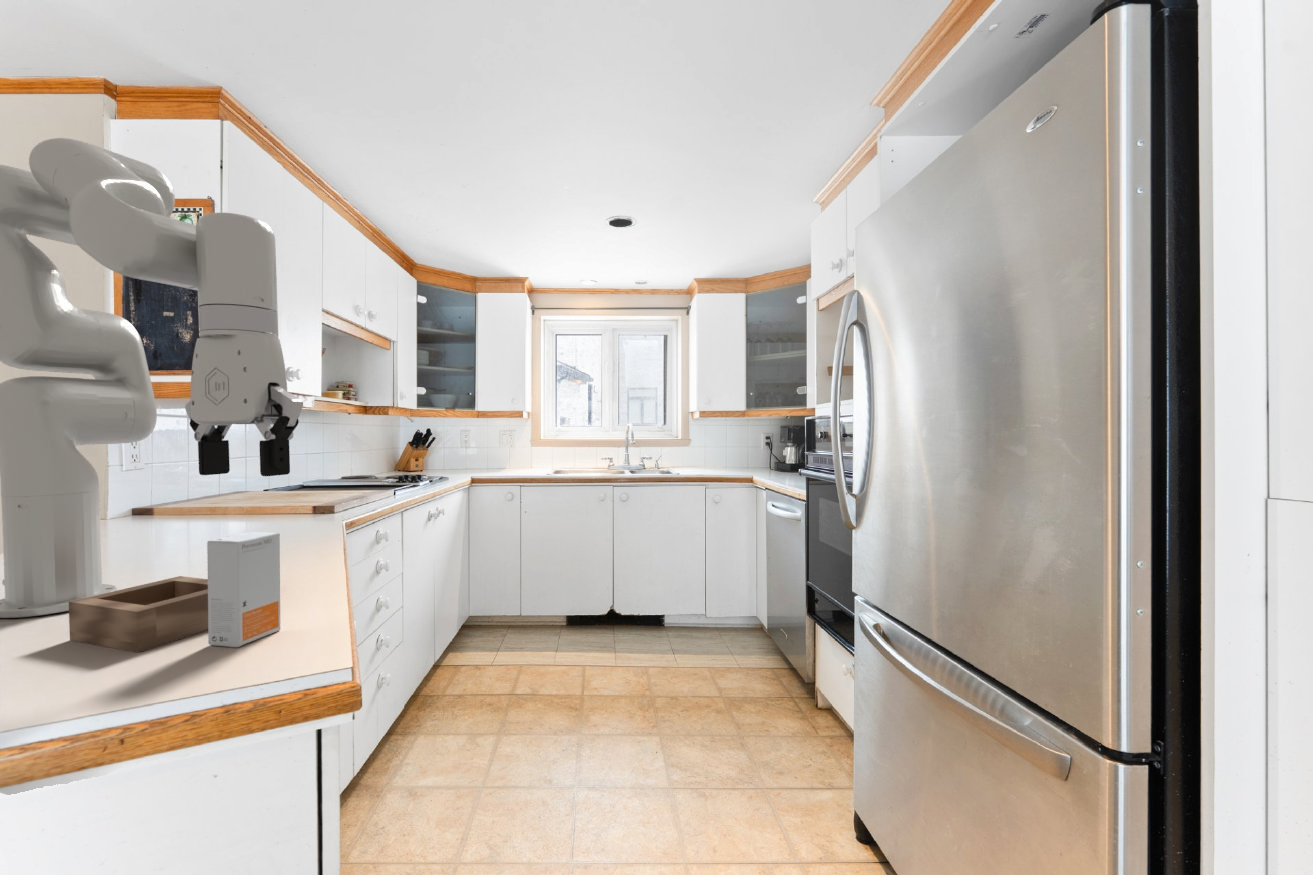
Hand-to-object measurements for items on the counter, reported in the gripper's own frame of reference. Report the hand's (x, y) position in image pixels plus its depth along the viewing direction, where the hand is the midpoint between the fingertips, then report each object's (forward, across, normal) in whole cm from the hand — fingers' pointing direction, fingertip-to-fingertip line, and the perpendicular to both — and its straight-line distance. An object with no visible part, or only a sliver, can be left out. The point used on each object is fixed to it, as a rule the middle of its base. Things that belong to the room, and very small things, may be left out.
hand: (244, 474), depth 69 cm
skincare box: (+19, 0, 0) cm, 19 cm away
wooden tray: (+19, -14, -1) cm, 23 cm away
